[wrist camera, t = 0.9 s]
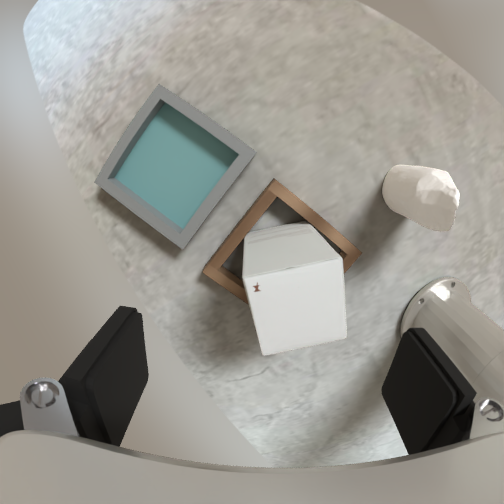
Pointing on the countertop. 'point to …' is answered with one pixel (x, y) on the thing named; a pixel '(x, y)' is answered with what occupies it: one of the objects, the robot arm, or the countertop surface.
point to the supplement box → (293, 288)
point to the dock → (173, 165)
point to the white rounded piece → (422, 195)
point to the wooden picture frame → (248, 221)
